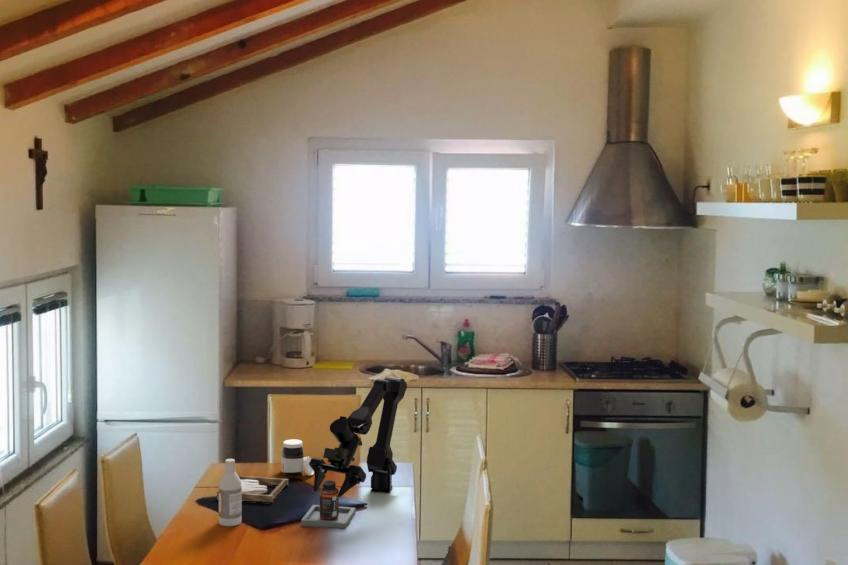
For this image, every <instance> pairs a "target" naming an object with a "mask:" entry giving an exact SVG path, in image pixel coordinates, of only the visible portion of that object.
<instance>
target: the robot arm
mask: <svg viewBox="0 0 848 565" xmlns="http://www.w3.org/2000/svg"><path fill="white" fill-rule="evenodd" d="M407 388H408V384H407V382H406V380H405V379H404V378H403V377H402V378H401V377H396V376H395V377H394V376H386V377H385V378H378V379H375V380H374V381H373V384H372V387H371V389H370V390H369V392H368V394H367V395H366V397H365V399H363V402H362V403H361V405H360V406H359V408H357V409H355V410H353V411H352V412H351V413H350V415H349V416H348V417H347V416H345V415H340V417H339V418H337V419H334V420H333V421H332V422H331V423H330V425H329V431H330V433H331V434H332V436H333V437H334V438H335V439H336V441H337V442H338V443H339V445H338V446H337V447H334V448H328V447H324V448H325V449H324V452H323V456H322V458H318V457H312V458H311V460H310V462H309V465H310V466H311V468H312V469H313V471H314V482H313V492H315V493H316V492H317V491H318V490H319V489H320V486H321V485H322V484H323V482H324V480H325V478H327V477H326V474H327V472H333V473H338V474H344V480H343V482H342V485H341V487H340V489H339V490H338V491H339V494H338V496H339V498H341V497H343V495H344V494H346V493H347V492H348V491H349V490H350V489H352V488H353V487H355V486H356V485H361V483H365V480H366V478H367V473H366V472H365V471H364V469H363V467H361V466H359V465H356V464H355V465H354V464H352V462H354V461H355V460H356V459H355V457H354V456H355V454H356V452H357V450H358V447H362V446H363V441H362V438H361V437H360V436H359V435H361V436H362V435H363V436H364V435H365V436H366V435H367V434H368V433H369V431H370V430H371V428H372V425H373V418H372V417H373V416H374V414H375V412H376V410H377V409H378V407H379V406H380V404H381V402H382V401H383V404H382V409H381V415H380V420H379V426H378V429H377V430H378V431H377V434H376V435H377V436H376V441H375V443H374V444H373V445H372V446H369V448H368V452H367V456H366V467H367V471H368V473H370V472H371V473H372V475H371V476H370V489H371V490H370V492H371V493H386V494H387V493H388V494H389V493H391V491H392V489H393V485H392V484H393V482H392V481H393V480H392V479H393V477H392V476H395V475H396V473H397V468H398V467H397V464H396V463H395V462H394V460H393V457H394V454H393V450H392V448H391V441H392V436H393V430H394V425H395V421H396V416H397V410H398V406H399V403H400V402H401V401H402V400H403V399H404V397H405V394H406V391H407ZM324 459H327V462H328V463H326V462H325V461H324ZM329 463H330V464H329ZM354 463H355V462H354Z"/></svg>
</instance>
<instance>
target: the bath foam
mask: <svg viewBox="0 0 848 565" xmlns="http://www.w3.org/2000/svg"><path fill="white" fill-rule="evenodd" d="M224 462H225V464H224V465H225V468H224V469H225V471H224V472H223V474H222V476H221V478H220V480H219V482H218V491H219V500H218V524H219V525H220V526H223V527H235V526H238V525H240V524H241V523H242V520H243V519H242V516H243V515H242V512H243V511H242V510H243V509H242V508H243V507H242V503H243V501H242V484H241V480H240V478H239V476H240V475H238V473H237V472H236V460H235V459H234V458H227V459H225V460H224Z"/></svg>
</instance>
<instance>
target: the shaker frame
mask: <svg viewBox="0 0 848 565" xmlns="http://www.w3.org/2000/svg"><path fill="white" fill-rule="evenodd" d="M238 476H239V478H240V480H245V479H248V480H257V481H259V485H263V486H267V485H268V486H270V485H271V487H273V486H272V485H278V486H275V488H274V489H273V490H271V492H270V493H269V494H264V493H263V494H249V493H242V502H243V501H263V502H273V503H274V501H275V500H276V499H277V497H278V496H279V495H280V494H281V493H282V492H283V491H282V489H283V488H284V487H285V486H286V485H288V486H289V478H281V477H279V478H278V477H266V476H265V477H264V476H252V475H249V476H248V475H238ZM268 486H267V487H268ZM281 491H282V492H281ZM280 492H281V493H280ZM279 493H280V494H279ZM278 494H279V495H278ZM277 495H278V496H277ZM276 496H277V497H276ZM275 498H276V499H275ZM274 499H275V500H274ZM216 500H218V501H219V490H218V491H217V492H216ZM273 500H274V501H273Z"/></svg>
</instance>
